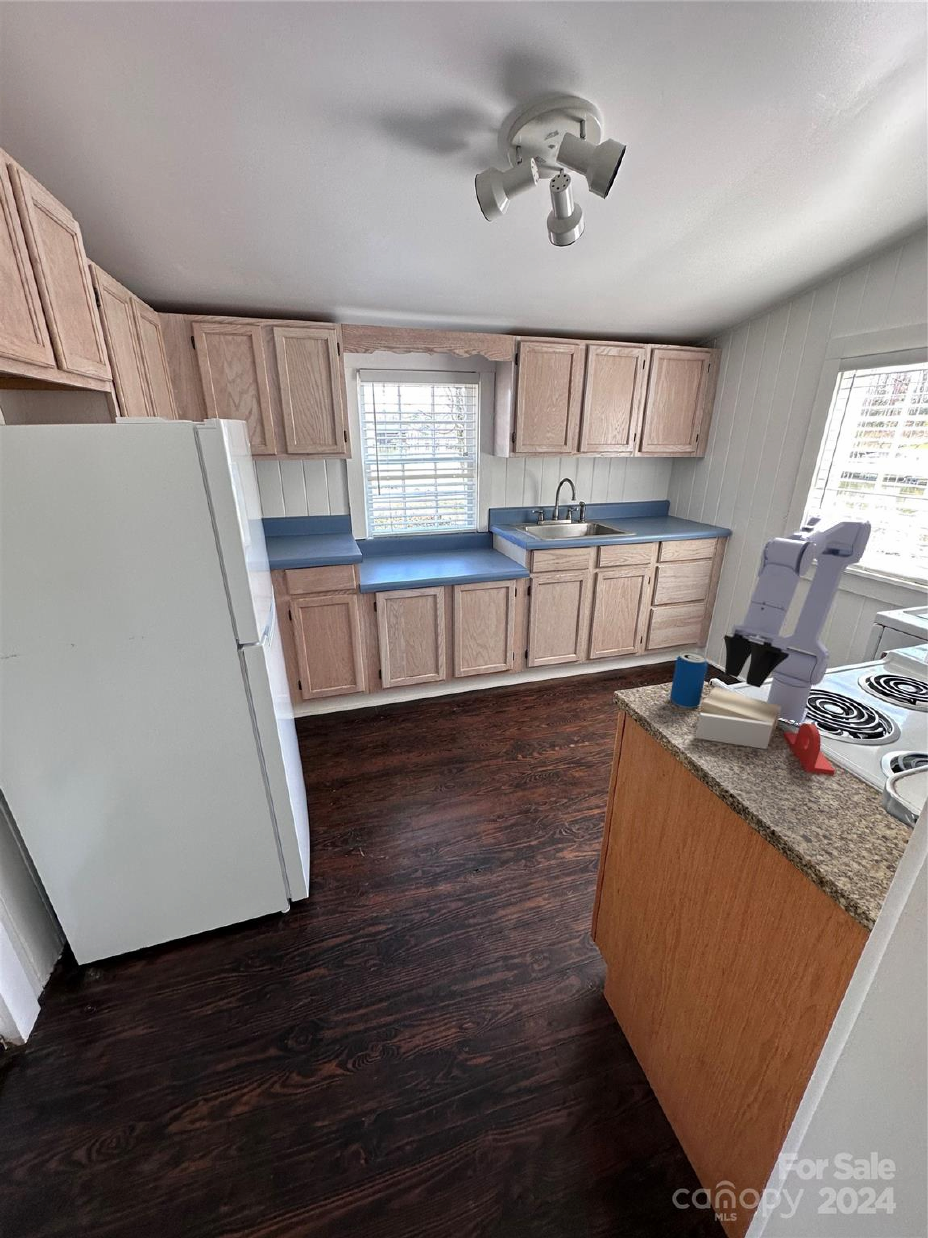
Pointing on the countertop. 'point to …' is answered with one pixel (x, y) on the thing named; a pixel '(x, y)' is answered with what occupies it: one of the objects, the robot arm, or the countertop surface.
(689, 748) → the countertop surface
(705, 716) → the door
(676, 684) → the beverage can
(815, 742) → the bracket
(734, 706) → the cream rectangular block
